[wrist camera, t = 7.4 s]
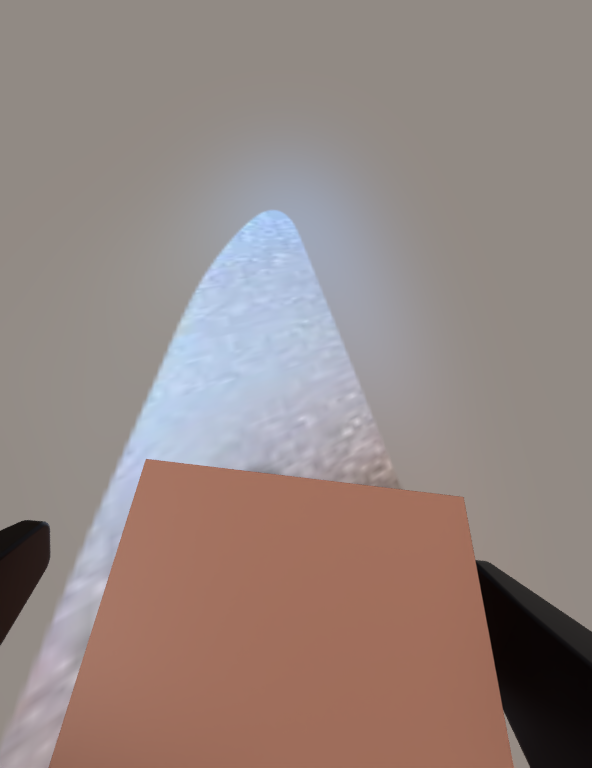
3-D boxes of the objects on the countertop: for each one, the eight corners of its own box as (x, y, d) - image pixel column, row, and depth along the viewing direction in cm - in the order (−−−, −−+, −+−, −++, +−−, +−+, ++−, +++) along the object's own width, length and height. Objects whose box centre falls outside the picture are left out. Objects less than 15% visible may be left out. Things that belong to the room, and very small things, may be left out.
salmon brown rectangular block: (289, 663, 12) (576, 1108, 2) (183, 658, 12) (-89, 1198, 2) (297, 547, 14) (463, 497, 4) (206, 539, 14) (145, 459, 4)
